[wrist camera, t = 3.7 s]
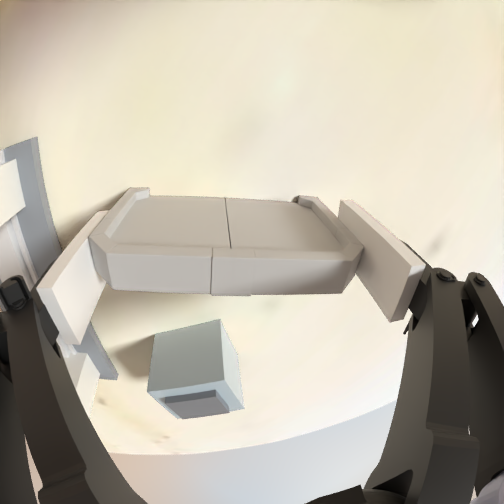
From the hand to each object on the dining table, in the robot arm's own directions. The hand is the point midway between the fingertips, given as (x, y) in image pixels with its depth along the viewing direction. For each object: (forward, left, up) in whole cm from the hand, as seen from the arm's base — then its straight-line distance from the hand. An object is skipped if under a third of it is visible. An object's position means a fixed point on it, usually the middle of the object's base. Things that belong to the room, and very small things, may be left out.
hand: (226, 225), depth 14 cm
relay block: (+13, -3, -3) cm, 14 cm away
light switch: (0, 0, -3) cm, 3 cm away
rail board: (+6, -18, -3) cm, 19 cm away
